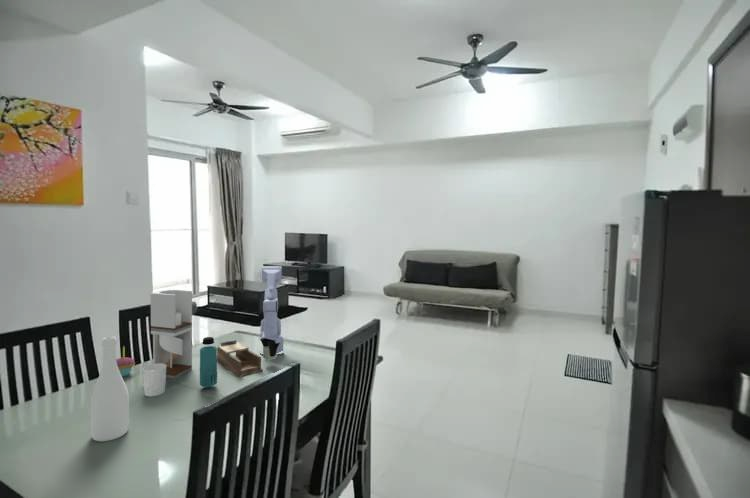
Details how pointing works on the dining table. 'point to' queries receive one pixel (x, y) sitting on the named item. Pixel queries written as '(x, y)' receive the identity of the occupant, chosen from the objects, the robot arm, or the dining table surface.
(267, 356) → the block
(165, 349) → the white tiered shelf
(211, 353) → the beverage bottle
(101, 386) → the wine bottle
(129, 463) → the dining table surface
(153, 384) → the white cup
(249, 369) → the brown wooden box
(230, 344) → the lid
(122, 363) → the cupcake
